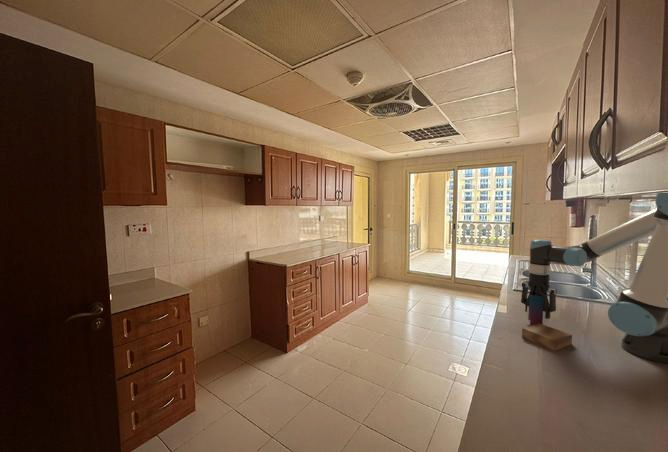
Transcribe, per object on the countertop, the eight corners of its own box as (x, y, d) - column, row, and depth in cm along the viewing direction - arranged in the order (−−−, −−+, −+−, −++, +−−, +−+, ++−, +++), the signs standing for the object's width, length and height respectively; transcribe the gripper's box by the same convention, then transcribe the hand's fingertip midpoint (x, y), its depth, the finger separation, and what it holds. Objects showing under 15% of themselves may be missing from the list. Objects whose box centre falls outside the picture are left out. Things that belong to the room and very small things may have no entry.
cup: (539, 323, 128) (541, 292, 127) (549, 329, 121) (551, 297, 120) (524, 322, 129) (525, 292, 128) (533, 328, 122) (535, 296, 121)
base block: (571, 344, 108) (572, 334, 108) (554, 350, 103) (555, 340, 103) (538, 332, 119) (539, 323, 119) (521, 337, 114) (522, 328, 114)
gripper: (568, 277, 116) (565, 328, 118) (522, 268, 134) (520, 313, 135) (558, 278, 113) (556, 332, 115) (513, 269, 131) (511, 316, 132)
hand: (536, 322), depth 125 cm, fingers closed on cup, 6 cm apart
